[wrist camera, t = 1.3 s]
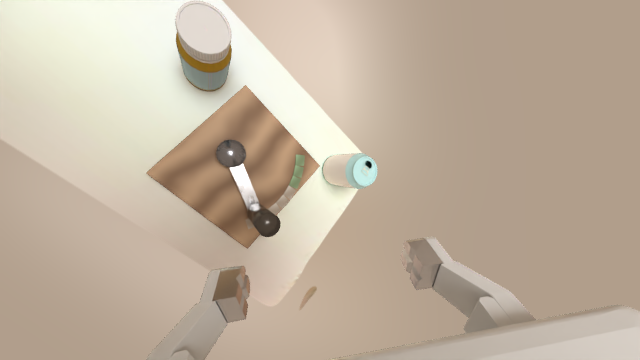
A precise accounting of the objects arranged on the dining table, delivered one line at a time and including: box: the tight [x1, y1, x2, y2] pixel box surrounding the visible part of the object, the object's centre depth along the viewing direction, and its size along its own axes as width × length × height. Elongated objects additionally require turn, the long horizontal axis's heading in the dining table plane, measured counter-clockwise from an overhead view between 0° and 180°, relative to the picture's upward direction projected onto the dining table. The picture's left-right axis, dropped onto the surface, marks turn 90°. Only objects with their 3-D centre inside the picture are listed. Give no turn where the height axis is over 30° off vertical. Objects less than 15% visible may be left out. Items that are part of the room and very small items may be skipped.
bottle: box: [175, 1, 232, 91], centre depth 35 cm, size 7×7×15 cm
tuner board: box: [147, 85, 320, 249], centre depth 45 cm, size 22×23×1 cm
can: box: [323, 153, 377, 189], centre depth 49 cm, size 7×7×12 cm
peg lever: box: [216, 140, 280, 237], centre depth 39 cm, size 18×5×12 cm, turn 22°
